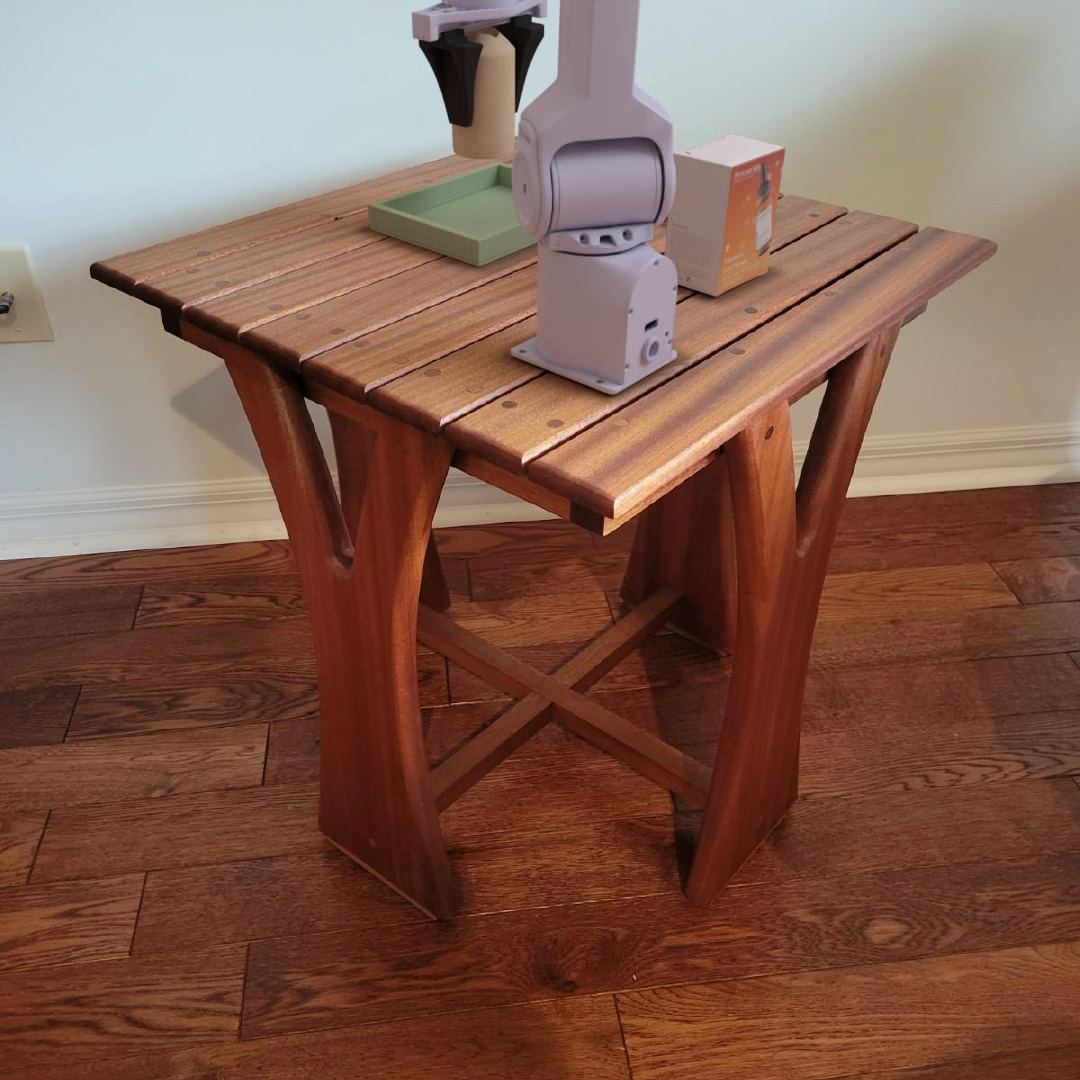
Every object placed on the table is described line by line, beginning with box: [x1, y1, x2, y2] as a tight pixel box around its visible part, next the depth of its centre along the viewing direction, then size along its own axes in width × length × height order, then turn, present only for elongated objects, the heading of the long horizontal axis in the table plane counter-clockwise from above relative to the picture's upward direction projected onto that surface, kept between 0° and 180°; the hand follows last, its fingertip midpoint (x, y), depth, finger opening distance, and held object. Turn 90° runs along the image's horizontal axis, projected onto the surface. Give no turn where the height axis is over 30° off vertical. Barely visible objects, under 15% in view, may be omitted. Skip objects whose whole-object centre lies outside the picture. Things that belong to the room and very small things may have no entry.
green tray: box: [367, 161, 538, 268], centre depth 101 cm, size 14×18×2 cm
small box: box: [663, 133, 786, 297], centre depth 89 cm, size 8×6×10 cm
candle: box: [451, 27, 516, 160], centre depth 94 cm, size 6×6×10 cm
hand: (484, 117), depth 96 cm, fingers closed on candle, 5 cm apart
